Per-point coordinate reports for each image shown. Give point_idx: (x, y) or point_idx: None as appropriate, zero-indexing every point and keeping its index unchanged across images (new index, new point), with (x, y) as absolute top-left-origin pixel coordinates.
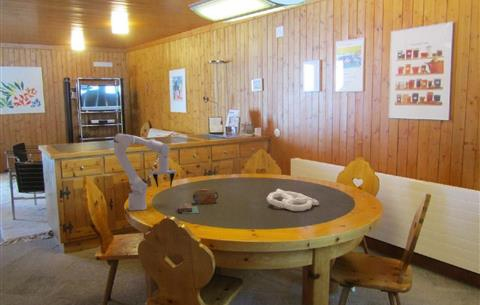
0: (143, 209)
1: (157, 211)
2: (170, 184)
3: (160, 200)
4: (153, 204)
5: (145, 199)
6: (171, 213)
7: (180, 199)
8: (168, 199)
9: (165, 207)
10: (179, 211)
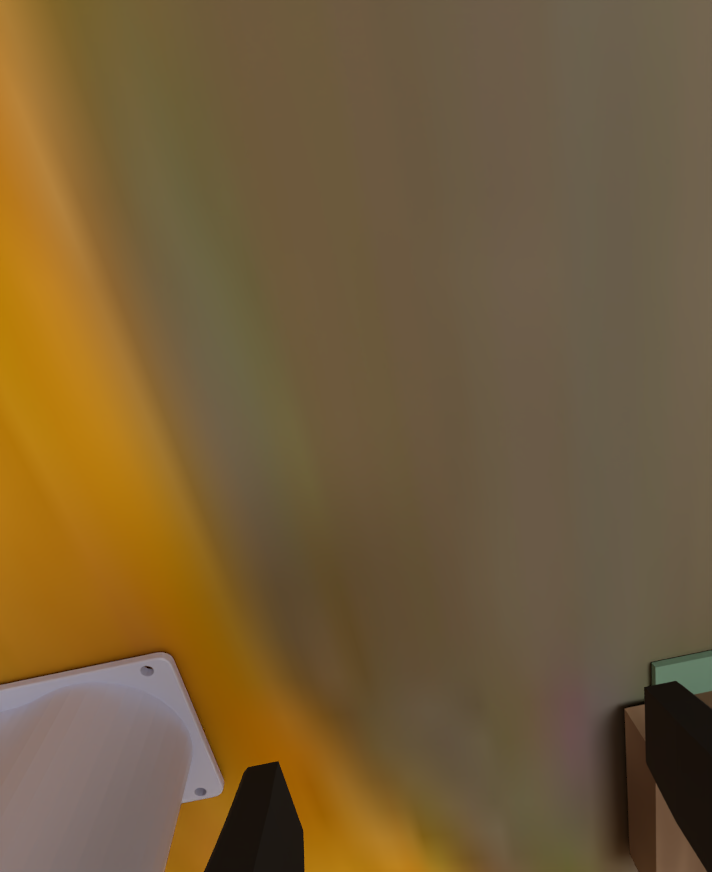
0: (193, 796)
1: (380, 816)
2: (698, 840)
3: (271, 294)
4: (232, 553)
5: (162, 858)
6: (545, 857)
7: (645, 201)
8: (410, 206)
9: (444, 677)
10: (638, 866)
